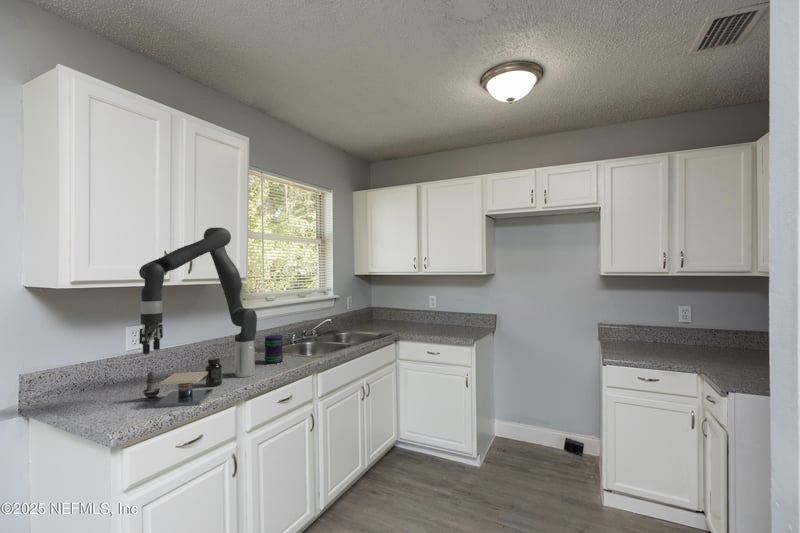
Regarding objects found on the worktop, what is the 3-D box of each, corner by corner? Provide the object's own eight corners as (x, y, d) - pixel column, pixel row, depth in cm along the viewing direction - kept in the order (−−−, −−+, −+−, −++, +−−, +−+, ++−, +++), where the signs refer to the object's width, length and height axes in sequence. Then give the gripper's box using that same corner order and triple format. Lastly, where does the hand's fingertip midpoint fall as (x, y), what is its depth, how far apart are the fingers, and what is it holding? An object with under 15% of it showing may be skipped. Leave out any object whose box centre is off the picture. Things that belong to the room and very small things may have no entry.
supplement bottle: (225, 382, 177) (225, 357, 177) (216, 387, 170) (216, 360, 170) (211, 382, 178) (211, 356, 178) (202, 387, 171) (202, 360, 171)
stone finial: (163, 396, 158) (163, 367, 158) (154, 401, 152) (154, 371, 152) (148, 396, 158) (148, 367, 158) (139, 401, 152) (139, 371, 152)
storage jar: (263, 361, 218) (263, 335, 218) (281, 360, 222) (281, 334, 222) (265, 365, 209) (265, 338, 209) (284, 363, 213) (284, 337, 213)
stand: (172, 394, 161) (172, 372, 161) (212, 391, 163) (212, 370, 164) (154, 407, 145) (154, 383, 145) (199, 404, 148) (199, 381, 148)
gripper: (153, 313, 149) (153, 355, 149) (169, 310, 163) (169, 348, 163) (132, 314, 148) (132, 356, 148) (150, 310, 162) (150, 348, 162)
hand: (151, 351), depth 155 cm, fingers open, 8 cm apart
